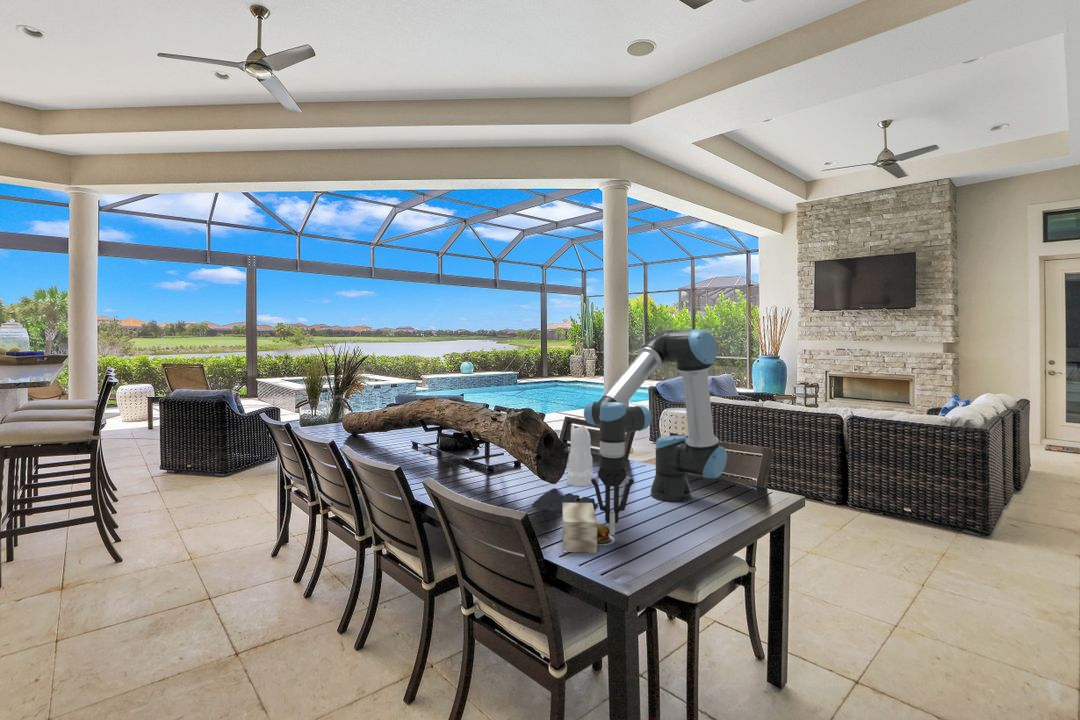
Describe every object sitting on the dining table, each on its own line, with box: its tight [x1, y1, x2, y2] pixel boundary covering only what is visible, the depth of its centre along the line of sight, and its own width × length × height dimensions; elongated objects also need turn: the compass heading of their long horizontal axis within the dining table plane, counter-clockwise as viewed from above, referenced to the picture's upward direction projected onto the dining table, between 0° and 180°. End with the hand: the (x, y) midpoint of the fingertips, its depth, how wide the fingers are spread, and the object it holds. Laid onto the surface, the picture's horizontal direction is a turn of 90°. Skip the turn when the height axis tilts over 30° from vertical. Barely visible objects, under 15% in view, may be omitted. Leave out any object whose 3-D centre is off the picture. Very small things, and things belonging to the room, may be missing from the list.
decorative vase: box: [567, 424, 594, 487], centre depth 213 cm, size 11×11×25 cm
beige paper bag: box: [561, 503, 598, 554], centre depth 151 cm, size 10×17×9 cm, turn 178°
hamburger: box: [597, 523, 616, 546], centre depth 152 cm, size 12×12×6 cm
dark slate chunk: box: [531, 492, 599, 515], centre depth 183 cm, size 15×22×5 cm
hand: (611, 533), depth 151 cm, fingers closed
